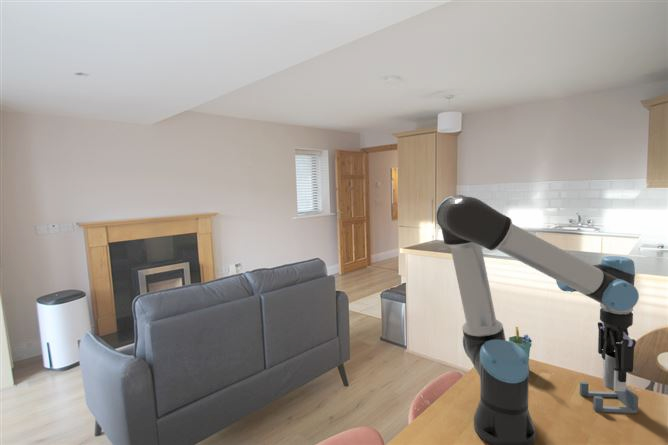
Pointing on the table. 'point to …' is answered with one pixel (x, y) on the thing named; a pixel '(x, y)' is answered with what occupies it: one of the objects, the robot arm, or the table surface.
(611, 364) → the grey tube
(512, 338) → the cup
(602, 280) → the robot arm
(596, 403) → the endcap rail
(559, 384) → the table surface
